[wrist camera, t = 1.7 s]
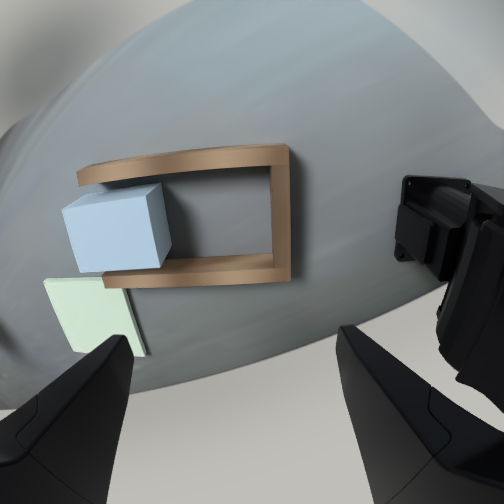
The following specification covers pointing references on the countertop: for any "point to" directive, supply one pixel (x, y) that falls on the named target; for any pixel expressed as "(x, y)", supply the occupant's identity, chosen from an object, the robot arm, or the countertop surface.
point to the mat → (93, 313)
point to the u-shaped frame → (218, 267)
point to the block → (119, 229)
